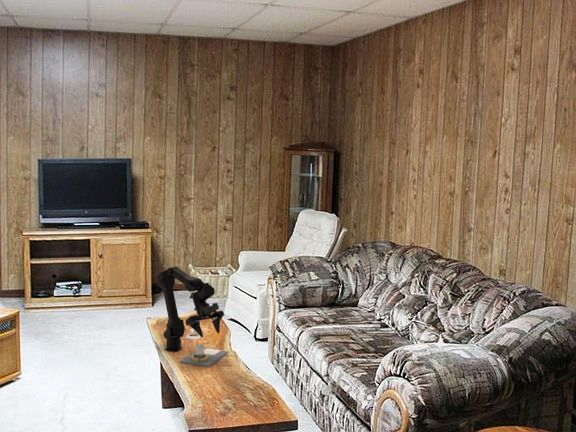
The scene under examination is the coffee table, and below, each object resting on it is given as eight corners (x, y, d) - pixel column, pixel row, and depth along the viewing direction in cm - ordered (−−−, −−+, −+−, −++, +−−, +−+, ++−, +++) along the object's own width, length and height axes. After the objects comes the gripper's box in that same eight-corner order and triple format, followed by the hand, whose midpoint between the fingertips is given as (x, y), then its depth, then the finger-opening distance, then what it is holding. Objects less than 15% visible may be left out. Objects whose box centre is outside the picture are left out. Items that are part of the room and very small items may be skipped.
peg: (193, 360, 324) (194, 345, 323) (197, 357, 328) (197, 343, 327) (201, 361, 323) (201, 346, 322) (205, 358, 327) (205, 344, 326)
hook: (208, 330, 358) (197, 323, 356) (195, 347, 361) (184, 340, 359) (209, 323, 365) (198, 317, 363) (196, 340, 368) (185, 333, 366)
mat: (199, 353, 334) (199, 352, 334) (206, 348, 341) (206, 348, 341) (214, 355, 331) (214, 355, 331) (220, 350, 339) (221, 350, 339)
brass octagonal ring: (187, 360, 323) (187, 357, 323) (195, 355, 331) (195, 352, 330) (203, 363, 320) (203, 360, 320) (211, 357, 328) (211, 354, 328)
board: (179, 363, 322) (179, 361, 322) (200, 349, 343) (200, 347, 343) (208, 367, 317) (208, 365, 317) (227, 353, 338) (227, 351, 338)
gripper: (192, 300, 310) (202, 333, 306) (225, 294, 323) (235, 325, 318) (180, 309, 318) (190, 341, 313) (213, 303, 330) (223, 333, 326)
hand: (210, 335), depth 318 cm, fingers open, 9 cm apart
